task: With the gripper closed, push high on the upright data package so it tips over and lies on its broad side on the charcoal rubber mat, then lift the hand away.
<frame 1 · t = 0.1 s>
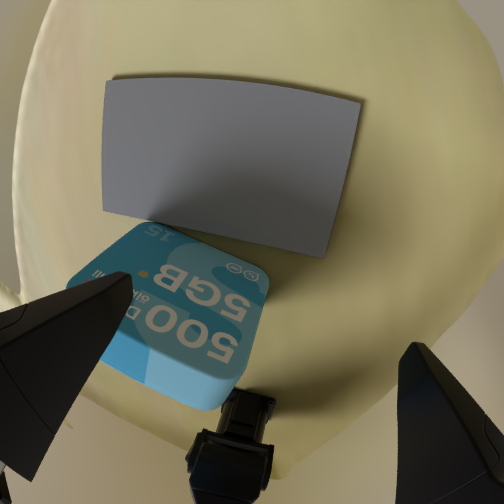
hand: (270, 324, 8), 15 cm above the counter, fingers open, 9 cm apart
data package: (201, 263, 26), on the counter
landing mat: (209, 157, 21), on the counter
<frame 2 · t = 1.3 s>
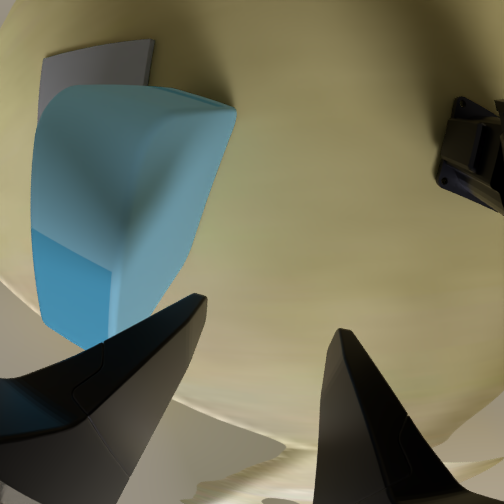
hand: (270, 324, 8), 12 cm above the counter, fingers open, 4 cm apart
data package: (182, 178, 20), on the counter
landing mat: (83, 164, 20), on the counter
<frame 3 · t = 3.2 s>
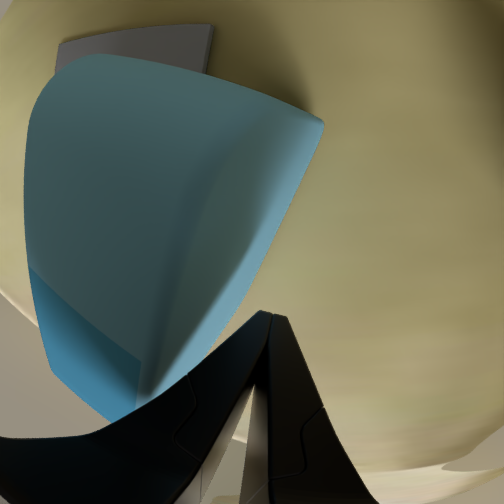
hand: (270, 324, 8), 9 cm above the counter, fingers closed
data package: (247, 202, 16), on the counter
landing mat: (111, 176, 17), on the counter
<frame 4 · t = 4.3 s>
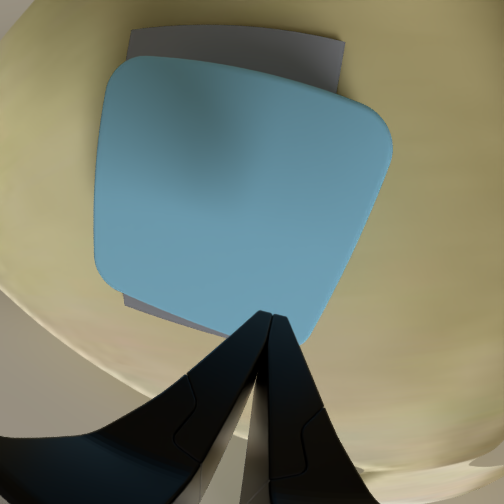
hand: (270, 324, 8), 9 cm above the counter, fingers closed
data package: (348, 242, 13), point 3 cm above the counter, touching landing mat
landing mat: (205, 196, 17), on the counter
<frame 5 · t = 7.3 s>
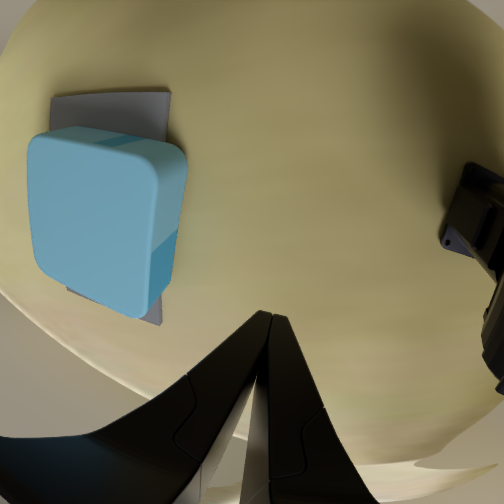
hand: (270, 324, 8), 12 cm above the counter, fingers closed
data package: (167, 242, 19), point 3 cm above the counter, touching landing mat
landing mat: (101, 212, 22), on the counter
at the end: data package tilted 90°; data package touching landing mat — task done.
